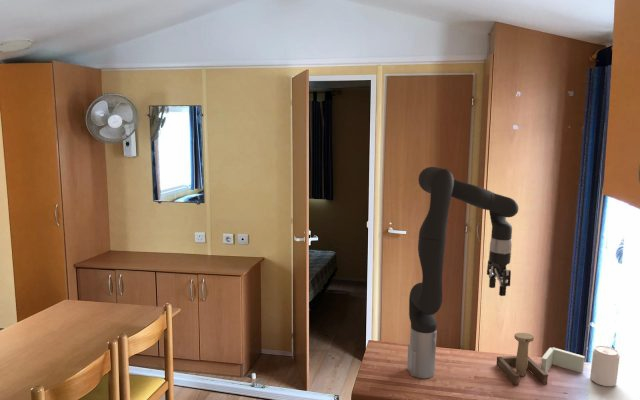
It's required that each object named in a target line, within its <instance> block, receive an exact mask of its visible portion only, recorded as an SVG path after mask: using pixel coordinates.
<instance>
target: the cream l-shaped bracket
mask: <svg viewBox="0 0 640 400" xmlns="http://www.w3.org/2000/svg"><path fill="white" fill-rule="evenodd" d="M585 358H586V356H585V355H582V354H577V353H575V352H571V351H568V350H563V349H561V348H557V347H554V346H553V347H549V348H548V349H547V350H546V351H545V353H544V354H543V356H542V357H541V362H540V368H541V369H542V370H543V371H544V372H546V373H548V371H549V370H550V368H551V367H552V366H553V365H554V366H557V367H561V368H564V369H567V370H570V371H574V372H578V373H581V374H583V372H584V369H585V367H584V366H585Z"/></svg>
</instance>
